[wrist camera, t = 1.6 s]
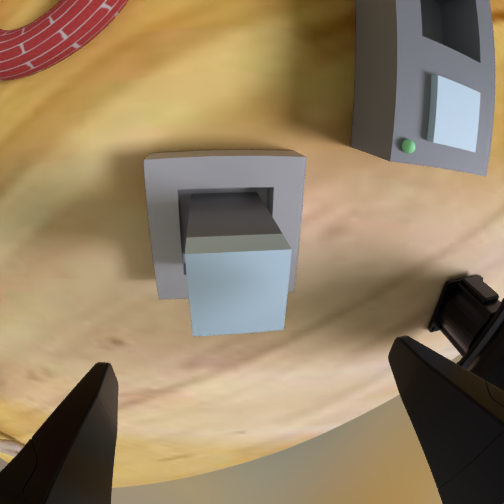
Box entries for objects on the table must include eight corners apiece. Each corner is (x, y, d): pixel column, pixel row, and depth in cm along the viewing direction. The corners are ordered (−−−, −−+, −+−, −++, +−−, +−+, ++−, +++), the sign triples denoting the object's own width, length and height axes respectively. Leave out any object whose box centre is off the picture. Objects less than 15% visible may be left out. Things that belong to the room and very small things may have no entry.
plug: (255, 250, 21) (283, 329, 13) (194, 253, 20) (193, 336, 13) (257, 192, 19) (291, 249, 12) (191, 193, 18) (184, 254, 11)
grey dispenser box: (443, 159, 21) (492, 178, 16) (350, 147, 19) (396, 163, 14) (447, 6, 14) (494, -2, 9) (353, -32, 13) (394, -59, 8)
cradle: (285, 273, 23) (294, 291, 21) (162, 279, 22) (159, 299, 19) (294, 150, 19) (306, 157, 17) (150, 153, 18) (143, 160, 15)
